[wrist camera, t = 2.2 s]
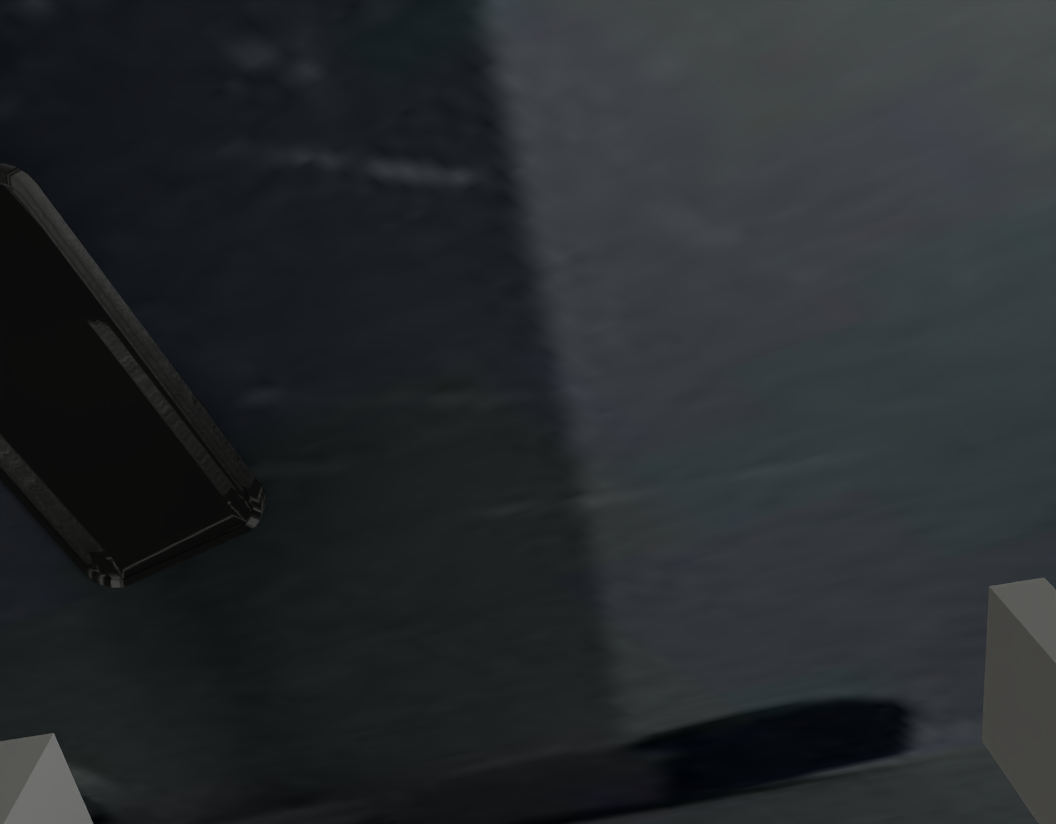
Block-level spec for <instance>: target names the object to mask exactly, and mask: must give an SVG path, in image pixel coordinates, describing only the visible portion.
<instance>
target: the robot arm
mask: <svg viewBox="0 0 1056 824" xmlns="http://www.w3.org/2000/svg"><path fill="white" fill-rule="evenodd" d="M982 742H983V743H984V744H985V746H986V747H987V749H988V750H989V752H990V753H991V755H992V756H993V758H994V759H995V761H996V762H997V764H998V765H999V767H1000V768H1001V769H1002V771H1003V772H1004V774H1005V775H1006V777H1007V778H1008V780H1009V781H1010V783H1011V784H1012V786H1013V787H1014V789H1015V790H1016V791H1017V793H1018V794H1019V796H1020V797H1021V799H1022V800H1023V802H1024V803H1025V805H1026V806H1027V808H1028V809H1029V811H1030V812H1031V814H1032V815H1033V816H1034V818H1035V819H1036V821H1037V822H1038V824H1056V589H1055V588H1054V587H1053V586H1052V585H1051V584H1050V583H1049V582H1048V581H1047V580H1046V579H1045V578H1039V579H1033V580H1027V581H1020V582H1014V583H1007V584H1001V585H995V586H989V601H988V622H987V642H986V663H985V684H984V705H983V726H982ZM0 824H93V822H92V820H91V818H90V815H89V813H88V811H87V808H86V806H85V804H84V802H83V799H82V797H81V795H80V792H79V790H78V788H77V786H76V783H75V781H74V779H73V776H72V774H71V772H70V769H69V767H68V765H67V763H66V760H65V758H64V756H63V753H62V751H61V749H60V747H59V744H58V742H57V740H56V737H55V735H54V733H51V734H45V735H39V736H32V737H26V738H20V739H13V740H7V741H0Z"/></svg>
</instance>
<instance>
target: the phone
mask: <svg viewBox="0 0 1056 824" xmlns="http://www.w3.org/2000/svg"><path fill="white" fill-rule="evenodd" d="M0 478H1V479H2V480H3V481H4V483H5V484H6V485H7V486H8V487H9V488H10V489H11V490H12V492H13V493H14V494H15V495H16V496H17V497H18V498H19V500H20V501H21V502H22V503H23V504H24V505H25V506H26V507H27V509H28V510H29V511H30V512H31V513H32V514H33V515H34V516H35V518H36V519H37V520H38V521H39V522H40V523H41V524H42V525H43V527H44V528H45V529H46V530H47V531H48V532H49V533H50V535H51V536H52V537H53V538H54V539H55V540H56V541H57V542H58V544H59V545H60V546H61V547H62V548H63V549H64V550H65V551H66V553H67V554H68V555H69V556H70V557H71V558H72V559H73V561H74V562H75V563H76V564H77V565H78V566H79V567H80V568H81V570H82V571H83V572H84V573H85V574H86V575H87V576H88V577H89V578H91V579H92V580H93V581H95V582H97V583H99V584H101V585H103V586H107V587H111V588H121V587H125V586H128V585H131V584H133V583H135V582H138V581H140V580H142V579H144V578H147V577H149V576H151V575H153V574H155V573H158V572H160V571H162V570H164V569H167V568H169V567H171V566H173V565H176V564H178V563H180V562H182V561H184V560H187V559H189V558H191V557H193V556H196V555H198V554H200V553H202V552H205V551H207V550H209V549H211V548H213V547H216V546H218V545H220V544H222V543H225V542H227V541H229V540H231V539H234V538H236V537H238V536H240V535H242V534H245V533H247V532H249V531H250V530H252V529H253V528H255V527H256V525H257V524H258V522H259V521H260V519H261V516H262V514H263V512H264V509H265V505H266V495H265V492H264V490H263V488H262V486H261V484H260V483H259V482H258V480H257V479H256V478H255V476H254V475H253V474H252V472H251V471H250V470H249V468H248V467H247V466H246V464H245V463H244V462H243V460H242V459H241V458H240V456H239V455H238V454H237V452H236V451H235V449H234V448H233V447H232V445H231V444H230V443H229V441H228V440H227V439H226V437H225V436H224V435H223V433H222V432H221V431H220V429H219V428H218V427H217V425H216V424H215V423H214V421H213V420H212V418H211V417H210V415H209V414H208V412H207V411H206V410H205V408H204V407H203V406H202V404H201V403H200V402H199V400H197V398H196V397H195V396H194V394H193V393H192V392H191V390H190V389H189V388H188V386H187V385H186V384H185V382H184V381H183V380H182V378H181V377H180V376H179V374H178V373H177V372H176V370H175V369H174V368H173V366H172V365H171V364H170V362H169V361H168V359H167V358H166V357H165V355H164V354H163V353H162V351H161V350H160V349H159V347H158V346H157V345H156V343H155V342H154V341H153V339H152V338H151V337H150V335H149V334H148V333H147V331H146V330H145V329H144V327H143V326H142V325H141V323H140V322H139V321H138V319H137V318H136V316H135V315H134V314H133V312H132V311H131V310H130V308H129V307H128V306H127V304H126V303H125V302H124V300H123V299H122V298H121V296H120V295H119V294H118V292H117V291H116V290H115V288H114V287H113V286H112V284H111V283H110V282H109V280H108V279H107V278H106V276H105V275H104V273H103V272H102V271H101V269H100V268H99V267H98V265H97V264H96V263H95V261H94V260H93V259H92V257H91V256H90V255H89V253H88V252H87V251H86V249H85V248H84V247H83V245H82V244H81V243H80V241H79V240H78V239H77V237H76V236H75V235H74V233H73V232H72V231H71V229H70V228H69V226H68V225H67V224H66V222H65V221H64V220H63V218H62V217H61V216H60V214H59V213H58V212H57V210H56V209H55V208H54V206H53V205H52V204H51V202H50V201H49V200H48V198H47V197H46V196H45V194H44V193H43V192H42V190H41V189H40V188H39V186H38V185H37V183H36V182H35V181H34V180H33V179H32V178H31V177H30V176H29V175H28V174H27V173H25V172H23V171H22V170H20V169H19V168H17V167H14V166H11V165H8V164H0Z"/></svg>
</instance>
